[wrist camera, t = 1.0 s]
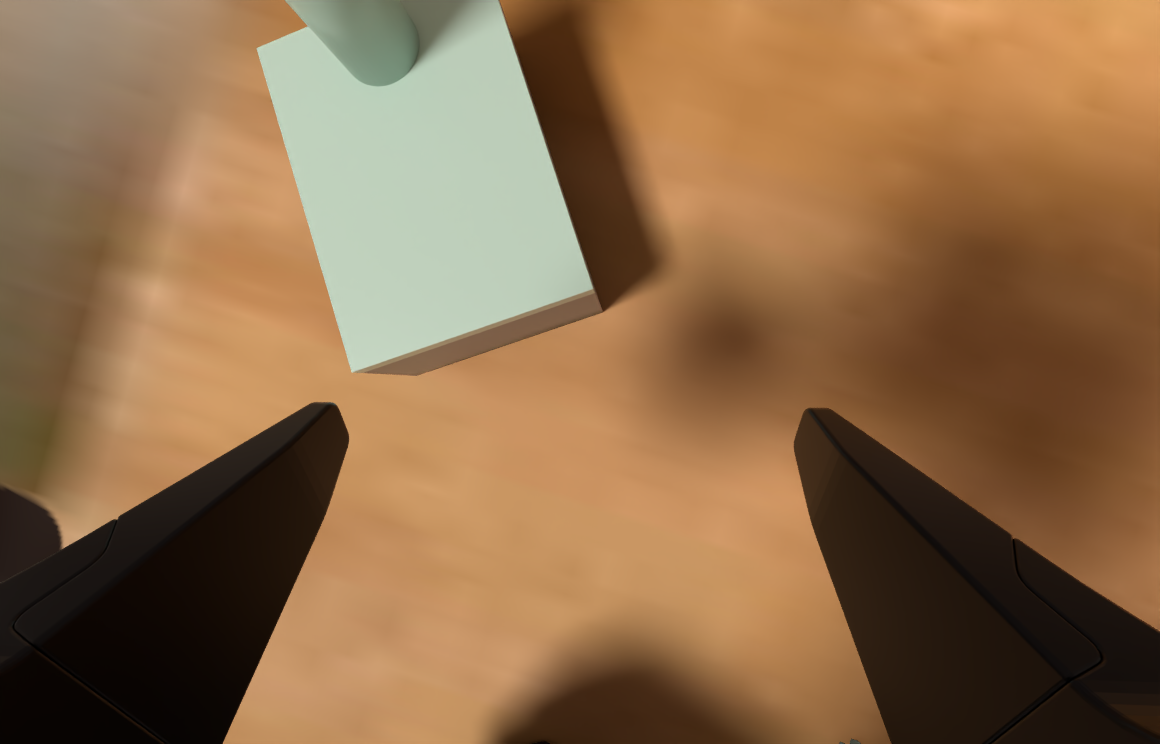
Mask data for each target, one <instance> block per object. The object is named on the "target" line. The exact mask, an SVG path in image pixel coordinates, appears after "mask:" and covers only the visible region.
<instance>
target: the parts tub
mask: <svg viewBox="0 0 1160 744" xmlns="http://www.w3.org/2000/svg"><path fill="white" fill-rule="evenodd" d="M499 3H500V1H499ZM500 6H501V4H500ZM501 9H502V7H501ZM502 12H503V9H502ZM503 15H504V12H503ZM504 18H505V15H504ZM505 21H506V18H505ZM506 24H507V21H506ZM507 27H508V24H507ZM508 30H509V27H508ZM509 33H510V36H511V39H512V42H513V45H514V48H515V51H516V54H517V57H518V60H519V63H520V66H521V70H522V73H523V76H524V79H525V82H526V85H527V88H528V91H529V94H530V97H531V100H532V103H533V106H534V109H535V112H536V115H537V118H538V121H539V124H540V127H541V130H542V133H543V136H544V139H545V142H546V146H547V149H548V152H549V155H550V158H551V161H552V164H553V167H554V170H555V173H556V176H557V179H558V182H559V185H560V188H561V191H562V194H563V197H564V200H565V203H566V206H567V209H568V212H569V215H570V218H571V222H572V225H573V228H574V231H575V234H576V237H577V240H578V243H579V246H580V249H581V252H582V255H583V258H584V261H585V264H586V267H587V270H588V273H589V276H590V279H591V282H592V285H593V288H594V291H595V293H593V294H591V295H588V296H585V297H582V298H579V299H576V300H573V301H570V302H567V303H564V304H562V305H559V306H556V307H553V308H550V309H547V310H544V311H541V312H538V313H535V314H533V315H530V316H527V317H524V318H521V319H518V320H515V321H512V322H509V323H506V324H504V325H501V326H498V327H495V328H492V329H489V330H486V331H483V332H480V333H477V334H475V335H472V336H469V337H466V338H463V339H460V340H457V341H454V342H451V343H448V344H446V345H443V346H440V347H437V348H434V349H431V350H428V351H425V352H422V353H419V354H417V355H414V356H411V357H408V358H405V359H402V360H399V361H396V362H393V363H390V364H388V365H385V366H382V367H379V368H376V369H373V370H370V371H367V372H364V373H373V374H393V375H413V376H417V375H420V374H423V373H426V372H429V371H432V370H435V369H438V368H440V367H443V366H446V365H449V364H452V363H455V362H458V361H461V360H464V359H467V358H470V357H473V356H476V355H479V354H482V353H485V352H487V351H490V350H493V349H496V348H499V347H502V346H505V345H508V344H511V343H514V342H517V341H520V340H523V339H526V338H529V337H532V336H534V335H537V334H540V333H543V332H546V331H549V330H552V329H555V328H558V327H561V326H564V325H567V324H570V323H573V322H576V321H579V320H581V319H584V318H587V317H590V316H593V315H596V314H599V313H602V312H603V311H602V308H601V305H600V302H599V299H598V296H597V292H596V289H595V286H594V283H593V280H592V277H591V274H590V271H589V268H588V265H587V262H586V259H585V256H584V253H583V250H582V247H581V244H580V241H579V238H578V235H577V232H576V229H575V226H574V223H573V220H572V217H571V213H570V210H569V207H568V204H567V201H566V198H565V195H564V192H563V189H562V186H561V183H560V180H559V177H558V174H557V171H556V168H555V165H554V162H553V159H552V156H551V153H550V150H549V147H548V144H547V141H546V138H545V135H544V131H543V128H542V125H541V122H540V119H539V116H538V113H537V110H536V107H535V104H534V101H533V98H532V95H531V92H530V89H529V86H528V83H527V80H526V77H525V74H524V71H523V68H522V65H521V62H520V59H519V56H518V52H517V50H516V47H515V44H514V41H513V38H512V35H511V32H510V30H509Z"/></svg>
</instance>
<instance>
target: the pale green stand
mask: <svg viewBox="0 0 1160 744" xmlns="http://www.w3.org/2000/svg"><path fill="white" fill-rule="evenodd" d="M285 1H286V2H287V3H288V5H289V6H290V7H291V8H292V9H293V10H294V11H295V12H296V13H297V14H298V16H299V17H300V18H301V19H302V20H303V21H304V22H305V23H306V24H307V26H308V27H306V28H303V29H301V30H298V31H296V32H294V33H291V34H289V35H287V36H284V37H282V38H280V39H277V40H275V41H272V42H270V43H268V44H265V45H263V46H261V47H258V48H257V51H258V54H259V58H260V61H261V65H262V68H263V71H264V75H265V78H266V82H267V85H268V88H269V92H270V95H271V99H272V102H273V106H274V109H275V112H276V116H277V119H278V123H279V126H280V129H281V133H282V136H283V140H284V143H285V146H286V150H287V153H288V157H289V160H290V163H291V167H292V170H293V174H294V177H295V180H296V184H297V187H298V191H299V194H300V197H301V201H302V204H303V208H304V211H305V215H306V218H307V221H308V225H309V228H310V232H311V235H312V238H313V242H314V245H315V249H316V252H317V255H318V259H319V262H320V266H321V269H322V272H323V276H324V279H325V283H326V286H327V289H328V293H329V296H330V300H331V303H332V306H333V310H334V313H335V317H336V320H337V324H338V327H339V330H340V334H341V337H342V341H343V344H344V347H345V351H346V354H347V358H348V361H349V364H350V368H351V371H352V372H353V373H364V372H367V371H370V370H373V369H376V368H379V367H382V366H385V365H388V364H390V363H393V362H396V361H399V360H402V359H405V358H408V357H411V356H414V355H417V354H419V353H422V352H425V351H428V350H431V349H434V348H437V347H440V346H443V345H446V344H448V343H451V342H454V341H457V340H460V339H463V338H466V337H469V336H472V335H475V334H477V333H480V332H483V331H486V330H489V329H492V328H495V327H498V326H501V325H504V324H506V323H509V322H512V321H515V320H518V319H521V318H524V317H527V316H530V315H533V314H535V313H538V312H541V311H544V310H547V309H550V308H553V307H556V306H559V305H562V304H564V303H567V302H570V301H573V300H576V299H579V298H582V297H585V296H588V295H591V294H593V293H595V291H594V288H593V285H592V282H591V279H590V276H589V273H588V270H587V267H586V264H585V261H584V258H583V255H582V252H581V249H580V246H579V243H578V240H577V237H576V234H575V231H574V228H573V225H572V222H571V218H570V215H569V212H568V209H567V206H566V203H565V200H564V197H563V194H562V191H561V188H560V185H559V182H558V179H557V176H556V173H555V170H554V167H553V164H552V161H551V158H550V155H549V152H548V149H547V146H546V142H545V139H544V136H543V133H542V130H541V127H540V124H539V121H538V118H537V115H536V112H535V109H534V106H533V103H532V100H531V97H530V94H529V91H528V88H527V85H526V82H525V79H524V76H523V73H522V70H521V66H520V63H519V60H518V57H517V54H516V51H515V48H514V45H513V42H512V39H511V36H510V33H509V30H508V27H507V24H506V21H505V18H504V15H503V12H502V9H501V6H500V3H499V0H285Z"/></svg>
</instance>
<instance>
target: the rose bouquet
mask: <svg viewBox="0 0 1160 744" xmlns="http://www.w3.org/2000/svg"><path fill="white" fill-rule="evenodd" d="M839 744H845V743H842V742H840V743H839ZM850 744H861V743H860V742H858V741H857V740H854V739H851V741H850Z"/></svg>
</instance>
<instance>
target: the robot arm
mask: <svg viewBox="0 0 1160 744" xmlns="http://www.w3.org/2000/svg"><path fill="white" fill-rule="evenodd" d="M348 444H349V434H348V431H347V428H346V426H345V423H344V421H343V418H342V416H341V413H340V410H339V408H338V406H337V405H336V404H334V403H331V402H314V403H311V404H309V405H307V406H305V407H304V408H302V409H300V410H299V411H297V412H295V413H294V414H292V415H290V416H288V417H287V418H285V419H283V420H282V421H280V422H278V423H277V424H275V425H273V426H271V427H270V428H268V429H266V430H265V431H263V432H261V433H260V434H258V435H256V436H254V437H253V438H251V439H249V440H248V441H246V442H244V443H243V444H241V445H239V446H238V447H236V448H234V449H232V450H231V451H229V452H227V453H226V454H224V455H222V456H221V457H219V458H217V459H215V460H214V461H212V462H210V463H209V464H207V465H205V466H204V467H202V468H200V469H198V470H197V471H195V472H193V473H192V474H190V475H188V476H187V477H185V478H183V479H181V480H180V481H178V482H176V483H175V484H173V485H171V486H170V487H168V488H166V489H164V490H163V491H161V492H159V493H158V494H156V495H154V496H153V497H151V498H149V499H147V500H146V501H144V502H142V503H141V504H139V505H137V506H136V507H134V508H132V509H130V510H129V511H127V512H125V513H124V514H122V515H120V516H119V517H118V520H117V519H114V520H112V521H110V522H108V523H106V524H105V525H103V526H101V527H100V528H98V529H96V530H95V531H93V532H91V533H90V534H88V535H86V536H84V537H83V538H81V539H79V540H77V541H76V542H74V543H72V544H70V545H69V546H67V547H65V548H63V549H62V550H60V551H58V552H56V553H55V554H53V555H51V556H50V557H48V558H46V559H44V560H42V561H40V562H38V563H36V564H35V565H33V566H31V567H29V568H27V569H25V570H24V571H22V572H20V573H18V574H16V575H14V576H13V577H11V578H9V579H7V580H5V581H3V582H1V583H0V744H223V741H224V739H225V737H226V735H227V733H228V730H229V728H230V726H231V724H232V722H233V719H234V717H235V715H236V713H237V710H238V708H239V706H240V704H241V702H242V699H243V697H244V695H245V693H246V690H247V688H248V686H249V684H250V682H251V679H252V677H253V675H254V673H255V670H256V668H257V666H258V664H259V662H260V659H261V657H262V655H263V653H264V651H265V648H266V646H267V644H268V642H269V639H270V637H271V635H272V633H273V631H274V628H275V626H276V624H277V622H278V619H279V617H280V615H281V613H282V611H283V608H284V606H285V604H286V602H287V600H288V597H289V595H290V593H291V591H292V588H293V586H294V584H295V582H296V580H297V577H298V575H299V573H300V571H301V568H302V566H303V564H304V562H305V560H306V557H307V555H308V553H309V551H310V549H311V546H312V544H313V542H314V540H315V537H316V535H317V533H318V531H319V529H320V526H321V524H322V522H323V519H324V517H325V515H326V512H327V509H328V506H329V504H330V501H331V498H332V495H333V491H334V488H335V485H336V482H337V479H338V476H339V473H340V470H341V467H342V464H343V460H344V457H345V454H346V451H347V448H348ZM794 452H795V457H796V461H797V465H798V470H799V474H800V478H801V482H802V487H803V491H804V495H805V499H806V504H807V508H808V512H809V516H810V520H811V523H812V526H813V529H814V532H815V535H816V538H817V541H818V544H819V546H820V549H821V552H822V555H823V557H824V560H825V563H826V566H827V568H828V571H829V574H830V577H831V579H832V582H833V585H834V588H835V590H836V593H837V596H838V599H839V601H840V604H841V607H842V610H843V612H844V615H845V618H846V620H847V623H848V626H849V629H850V631H851V634H852V637H853V640H854V642H855V645H856V648H857V651H858V653H859V656H860V659H861V662H862V664H863V667H864V670H865V673H866V675H867V678H868V681H869V684H870V686H871V689H872V692H873V695H874V697H875V700H876V703H877V706H878V708H879V711H880V714H881V717H882V719H883V722H884V725H885V728H886V730H887V733H888V736H889V738H890V741H891V744H1160V631H1158V630H1157V629H1155V628H1153V627H1152V626H1150V625H1148V624H1147V623H1145V622H1144V621H1142V620H1140V619H1139V618H1137V617H1136V616H1134V615H1132V614H1131V613H1129V612H1127V611H1126V610H1124V609H1123V608H1121V607H1120V606H1118V605H1116V604H1115V603H1113V602H1112V601H1110V600H1109V599H1107V598H1105V597H1104V596H1102V595H1101V594H1099V593H1097V592H1096V591H1094V590H1093V589H1091V588H1090V587H1088V586H1086V585H1085V584H1083V583H1082V582H1080V581H1079V580H1077V579H1076V578H1074V577H1073V576H1071V575H1070V574H1068V573H1067V572H1065V571H1064V570H1062V569H1061V568H1059V567H1058V566H1056V565H1055V564H1053V563H1052V562H1051V561H1049V560H1048V559H1046V558H1045V557H1043V556H1042V555H1040V554H1039V553H1037V552H1036V551H1034V550H1033V549H1032V548H1030V547H1029V546H1027V545H1026V544H1024V543H1023V542H1022V541H1020V540H1019V539H1016V538H1014V539H1013V537H1012V535H1011V534H1010V533H1008V532H1007V531H1005V530H1004V529H1003V528H1001V527H1000V526H998V525H997V524H995V523H994V522H992V521H991V520H990V519H988V518H987V517H985V516H984V515H982V514H981V513H980V512H978V511H977V510H975V509H974V508H972V507H971V506H969V505H968V504H967V503H965V502H964V501H962V500H961V499H959V498H958V497H957V496H955V495H954V494H952V493H951V492H949V491H948V490H946V489H945V488H944V487H942V486H941V485H939V484H938V483H936V482H935V481H934V480H932V479H931V478H929V477H928V476H926V475H925V474H923V473H922V472H921V471H919V470H918V469H916V468H915V467H913V466H912V465H911V464H909V463H908V462H906V461H905V460H903V459H902V458H900V457H899V456H898V455H896V454H895V453H893V452H892V451H890V450H889V449H887V448H886V447H885V446H883V445H882V444H880V443H879V442H877V441H876V440H875V439H873V438H872V437H870V436H869V435H867V434H866V433H864V432H863V431H862V430H860V429H859V428H857V427H856V426H854V425H853V424H852V423H850V422H849V421H847V420H846V419H844V418H843V417H841V416H840V415H839V414H837V413H836V412H834V411H833V410H831V409H829V408H808V409H806V410H805V411H804V413H803V415H802V418H801V421H800V424H799V427H798V430H797V433H796V436H795V440H794ZM533 744H550V743H548V742H545V741H541V742H537V743H533Z"/></svg>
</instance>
